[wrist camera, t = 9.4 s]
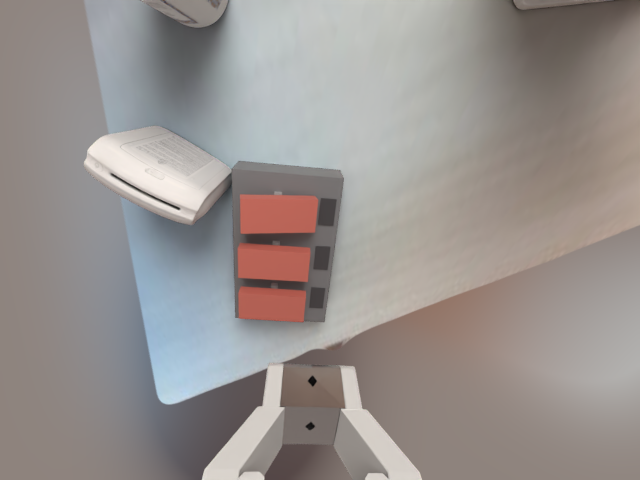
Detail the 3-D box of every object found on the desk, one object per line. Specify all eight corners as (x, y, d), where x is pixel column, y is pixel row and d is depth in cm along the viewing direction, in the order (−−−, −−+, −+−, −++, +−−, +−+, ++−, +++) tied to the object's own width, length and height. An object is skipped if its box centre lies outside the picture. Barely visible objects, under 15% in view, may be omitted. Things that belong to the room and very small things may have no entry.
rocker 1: (315, 195, 33) (318, 199, 32) (312, 227, 35) (314, 232, 34) (239, 194, 31) (240, 198, 30) (240, 228, 33) (240, 233, 32)
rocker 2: (310, 247, 35) (310, 253, 34) (307, 275, 37) (307, 281, 35) (240, 242, 34) (237, 248, 33) (240, 271, 36) (238, 277, 35)
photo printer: (140, 152, 35) (62, 179, 24) (154, 118, 33) (77, 130, 22) (223, 198, 37) (188, 242, 26) (239, 169, 36) (209, 203, 25)
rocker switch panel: (340, 170, 36) (344, 179, 32) (322, 303, 45) (324, 324, 41) (239, 160, 36) (230, 169, 31) (241, 299, 44) (234, 320, 40)
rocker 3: (305, 290, 38) (305, 297, 36) (303, 314, 39) (303, 322, 38) (240, 286, 37) (238, 293, 36) (241, 311, 39) (238, 318, 37)
